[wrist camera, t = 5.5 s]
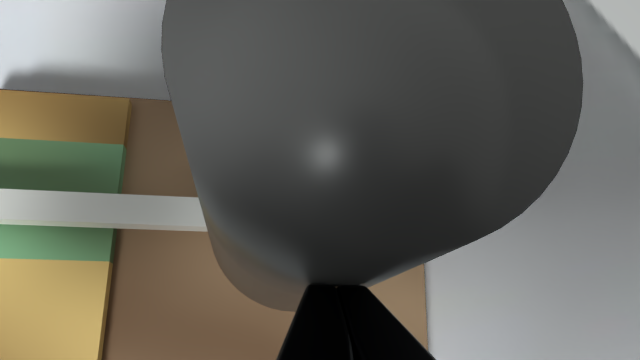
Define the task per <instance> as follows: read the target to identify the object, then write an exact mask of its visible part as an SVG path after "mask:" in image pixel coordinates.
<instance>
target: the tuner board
mask: <svg viewBox="0 0 640 360" xmlns="http://www.w3.org/2000/svg"><path fill="white" fill-rule="evenodd" d="M0 189H20V190H42V191H64V192H87V193H109V194H132V195H154V196H176V197H198V194H197V191H196V187H195V184H194V180H193V177H192V173H191V169H190V166H189V162H188V159H187V155H186V151H185V148H184V144H183V141H182V137H181V133H180V130H179V126H178V123H177V119H176V116H175V112H174V108H173V105H172V101H169V100H154V99H139V98H125V97H110V96H95V95H80V94H65V93H50V92H35V91H21V90H6V89H0ZM368 289H369V290H370V291H371V292H372V293H373V294H374V295H375V296H376V297H377V298H378V299H379V300H380V301H381V302H382V303H383V304H384V305H385V307H386V308H387V309H388V310H389V311H390V312H391V313H392V314H393V315H394V316H395V317H396V318H397V319H398V320H399V321H400V322H401V323H402V324H403V325H404V326H405V327H406V329H407V330H408V331H409V332H410V333H411V334H412V335H413V336H414V337H415V338H416V339H417V340H418V341H419V342H420V343H421V344H422V345H423V346H424V347H425V348H426V350H427V351H428V343H427V321H426V299H425V278H424V263H423V264H421V265H419V266H417V267H414V268H412V269H410V270H407V271H405V272H403V273H401V274H398V275H396V276H394V277H391V278H389V279H387V280H385V281H382V282H380V283H378V284H375V285H373V286H371V287H369V288H368ZM294 315H295V312H291V311H281V310H277V309H272V308H269V307H266V306H264V305H261V304H259V303H257V302H255V301H253V300H251V299H250V298H248V297H247V296H245V295H244V294H243V293H241V292H240V291H239V290H238V289H237V288H236V287H235V286H234V285H233V284H232V283H231V282H230V281H229V280H228V278H227V277H226V276H225V275H224V273H223V271H222V270H221V268H220V266H219V264H218V262H217V260H216V257H215V255H214V252H213V248H212V245H211V241H210V238H209V234H208V232H201V231H174V230H146V229H119V228H92V227H65V226H37V225H10V224H0V360H276V358H277V356H278V353H279V351H280V349H281V346H282V344H283V341H284V339H285V337H286V334H287V332H288V329H289V327H290V324H291V322H292V320H293V317H294Z"/></svg>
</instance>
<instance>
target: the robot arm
mask: <svg viewBox="0 0 640 360" xmlns="http://www.w3.org/2000/svg"><path fill="white" fill-rule="evenodd" d="M276 360H436V359H435V358H434V357H433V356H432V355H431V354H430V353H429V352H428V351H427V350H426V348H425V347H424V346H423V345H422V344H421V343H420V342H419V341H418V340H417V339H416V338H415V337H414V336H413V335H412V334H411V333H410V332H409V331H408V330H407V329H406V327H405V326H404V325H403V324H402V323H401V322H400V321H399V320H398V319H397V318H396V317H395V316H394V315H393V314H392V313H391V312H390V311H389V310H388V309H387V308H386V307H385V305H384V304H383V303H382V302H381V301H380V300H379V299H378V298H377V297H376V296H375V295H374V294H373V293H372V292H371V291H370V290H369V289H368V288H367V287H365V286H363V285H340V286H338V287H337V288H336V287H335V286H334V285H327V284H309V285H308V286H307V287H306V288H305V291H304V293H303V296H302V298H301V300H300V303H299V305H298V308H297V310H296V312H295V315H294V317H293V320H292V322H291V324H290V327H289V329H288V332H287V334H286V337H285V339H284V341H283V344H282V346H281V349H280V351H279V353H278V356H277V358H276Z"/></svg>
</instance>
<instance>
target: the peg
mask: <svg viewBox="0 0 640 360" xmlns="http://www.w3.org/2000/svg"><path fill="white" fill-rule="evenodd" d="M161 50H162V59H163V67H164V75H165V79H166V83H167V87H168V90H169V94H170V98H171V101H172V105H173V108H174V112H175V116H176V119H177V123H178V126H179V130H180V133H181V137H182V141H183V144H184V148H185V151H186V155H187V159H188V162H189V166H190V169H191V173H192V177H193V180H194V184H195V187H196V191H197V194H198V197H176V196H154V195H132V194H109V193H87V192H64V191H42V190H20V189H0V224H10V225H37V226H65V227H92V228H119V229H146V230H174V231H201V232H208V234H209V238H210V241H211V245H212V248H213V252H214V255H215V257H216V260H217V262H218V264H219V266H220V268H221V270H222V271H223V273H224V275H225V276H226V277H227V278H228V280H229V281H230V282H231V283H232V284H233V285H234V286H235V287H236V288H237V289H238V290H239V291H240V292H241V293H243V294H244V295H245V296H247V297H248V298H250V299H251V300H253V301H255V302H257V303H259V304H261V305H264V306H266V307H269V308H272V309H277V310H281V311H291V312H296V310H297V308H298V305H299V303H300V300H301V298H302V296H303V293H304V291H305V288H306V287H307V286H308V285H309V284H327V285H334V286H335V287H336V288H337V287H338V286H340V285H363V286H365V287H367V288H369V287H371V286H373V285H375V284H378V283H380V282H382V281H385V280H387V279H389V278H391V277H394V276H396V275H398V274H401V273H403V272H405V271H407V270H410V269H412V268H414V267H417V266H419V265H421V264H423V263H426V262H428V261H430V260H432V259H435V258H437V257H439V256H442V255H444V254H446V253H448V252H451V251H453V250H455V249H458V248H460V247H462V246H464V245H467V244H469V243H471V242H474V241H476V240H478V239H480V238H482V237H484V236H486V235H488V234H490V233H492V232H494V231H496V230H498V229H500V228H501V227H503V226H504V225H506V224H507V223H509V222H510V221H512V220H513V219H514V218H516V217H517V216H519V215H520V214H522V213H523V212H524V211H525V210H526V209H527V208H528V207H529V206H530V205H531V204H532V203H533V202H534V201H535V200H536V199H537V198H539V197H540V196H541V194H542V193H543V192H544V191H545V189H546V188H547V187H548V185H549V184H550V183H551V181H552V180H553V179H554V178H555V176H556V175H557V173H558V171H559V169H560V168H561V166H562V164H563V162H564V160H565V158H566V157H567V155H568V153H569V150H570V147H571V145H572V142H573V139H574V136H575V134H576V131H577V126H578V122H579V117H580V112H581V107H582V90H583V77H582V64H581V56H580V52H579V47H578V42H577V37H576V34H575V31H574V28H573V25H572V22H571V19H570V17H569V14H568V11H567V9H566V7H565V5H564V3H563V1H562V0H166V5H165V11H164V16H163V22H162V46H161Z"/></svg>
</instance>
